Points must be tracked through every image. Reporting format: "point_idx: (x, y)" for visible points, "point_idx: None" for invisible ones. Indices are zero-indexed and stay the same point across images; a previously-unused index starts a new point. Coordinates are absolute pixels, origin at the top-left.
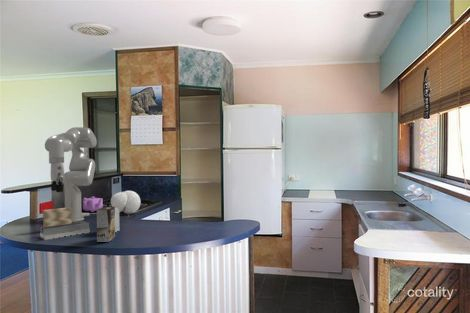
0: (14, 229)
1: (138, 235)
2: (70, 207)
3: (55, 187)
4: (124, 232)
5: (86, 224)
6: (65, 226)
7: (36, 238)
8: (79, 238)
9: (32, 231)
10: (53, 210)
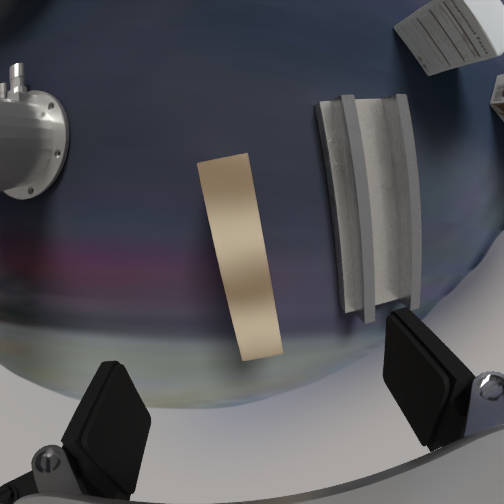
0: None
1: None
2: (218, 160)
3: (122, 417)
4: None
5: (405, 108)
6: (420, 217)
7: None
8: (459, 169)
9: (200, 333)
10: (272, 297)
